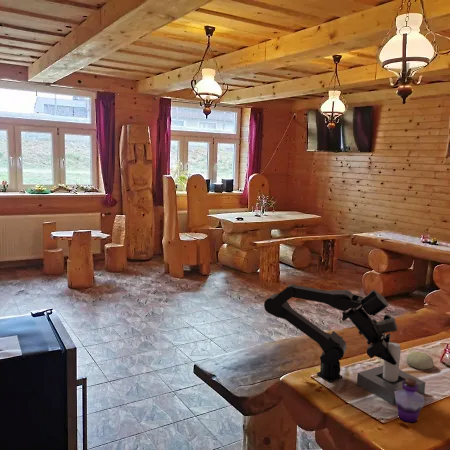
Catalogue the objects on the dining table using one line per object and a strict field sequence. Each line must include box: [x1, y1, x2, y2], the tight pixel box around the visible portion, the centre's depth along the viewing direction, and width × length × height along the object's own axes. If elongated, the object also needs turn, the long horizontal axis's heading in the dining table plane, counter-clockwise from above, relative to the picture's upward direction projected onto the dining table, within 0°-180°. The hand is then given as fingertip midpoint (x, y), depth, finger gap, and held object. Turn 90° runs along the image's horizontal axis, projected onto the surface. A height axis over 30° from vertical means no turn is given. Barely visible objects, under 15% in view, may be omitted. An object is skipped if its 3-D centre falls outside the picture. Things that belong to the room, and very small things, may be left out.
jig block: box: [356, 364, 426, 406], centre depth 148 cm, size 15×15×4 cm
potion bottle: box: [394, 378, 425, 424], centre depth 131 cm, size 9×9×12 cm
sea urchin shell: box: [405, 351, 435, 370], centre depth 166 cm, size 9×8×8 cm
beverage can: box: [383, 341, 402, 383], centre depth 147 cm, size 5×5×12 cm
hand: (396, 361), depth 146 cm, fingers closed on beverage can, 5 cm apart
